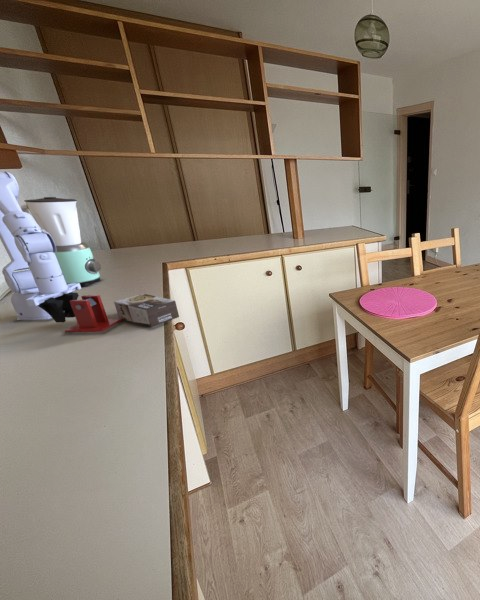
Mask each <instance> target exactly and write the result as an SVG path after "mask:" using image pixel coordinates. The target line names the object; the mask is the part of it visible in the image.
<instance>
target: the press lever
mask: <svg viewBox="0 0 480 600" xmlns="http://www.w3.org/2000/svg"><path fill="white" fill-rule="evenodd" d="M85 300H89V302H90V305H91V307H92V306H94V305H96V302H95V301H94V300H93V299H92V298H91V297H90V298H88V299H85ZM72 311H73V309H72V308H69V309H66V308H63V313H64V316H65V319H66V318H67V317H68V316H69V315H70V312H72Z"/></svg>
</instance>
